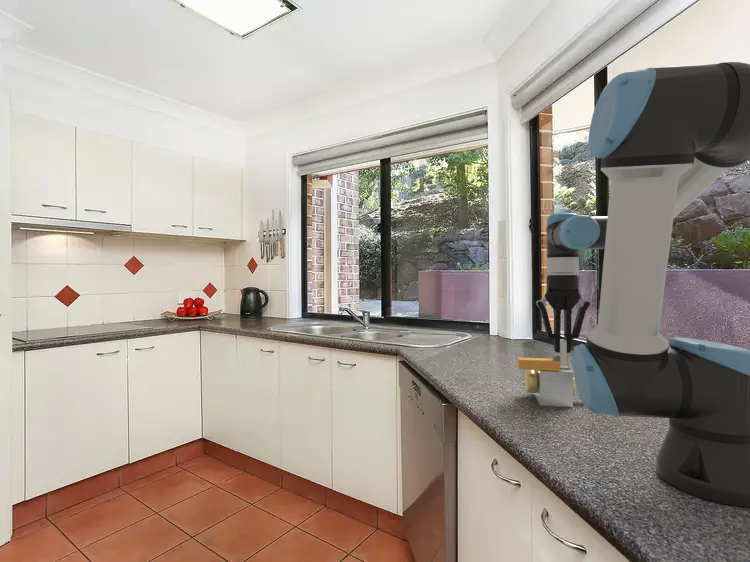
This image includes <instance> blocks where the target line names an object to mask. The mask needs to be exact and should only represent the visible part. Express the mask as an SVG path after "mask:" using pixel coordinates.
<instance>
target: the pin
mask: <svg viewBox="0 0 750 562" xmlns="http://www.w3.org/2000/svg"><path fill="white" fill-rule="evenodd" d="M524 387H525V393H527V394H534V393H537V388H538V376H537V372H536V370H526V369H524ZM574 389H575V390H577V387H576V383H575V378H574V377H573V390H574Z"/></svg>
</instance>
